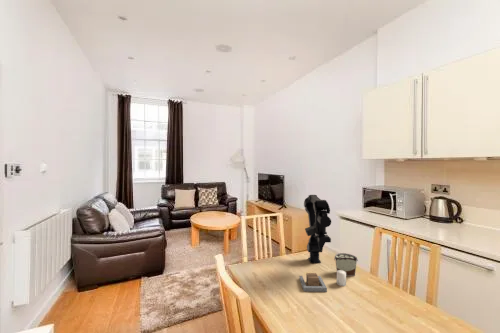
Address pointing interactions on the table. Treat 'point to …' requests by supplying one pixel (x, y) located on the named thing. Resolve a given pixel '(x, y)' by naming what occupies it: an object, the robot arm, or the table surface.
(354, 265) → the food container
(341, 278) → the white rounded cylinder
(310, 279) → the walnut block
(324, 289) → the grey bay
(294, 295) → the table surface
